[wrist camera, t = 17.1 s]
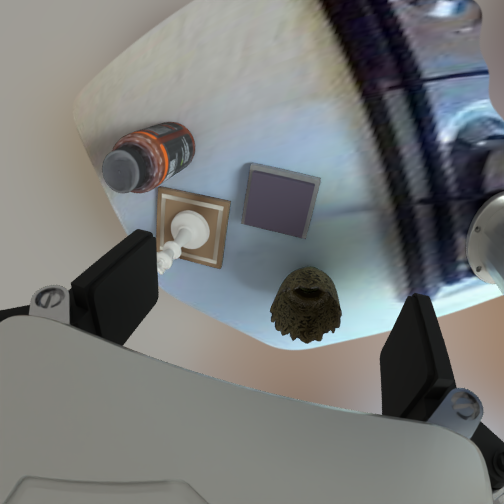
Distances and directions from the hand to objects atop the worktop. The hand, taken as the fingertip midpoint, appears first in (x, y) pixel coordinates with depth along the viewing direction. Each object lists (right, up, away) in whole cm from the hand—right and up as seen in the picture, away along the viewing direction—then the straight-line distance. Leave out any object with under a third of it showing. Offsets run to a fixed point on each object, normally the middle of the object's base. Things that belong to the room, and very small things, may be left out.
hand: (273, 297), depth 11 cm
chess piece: (-8, +4, +28) cm, 30 cm away
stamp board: (-8, +5, +28) cm, 30 cm away
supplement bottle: (-10, +14, +24) cm, 29 cm away
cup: (+6, -1, +28) cm, 29 cm away
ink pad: (+2, +7, +24) cm, 26 cm away
